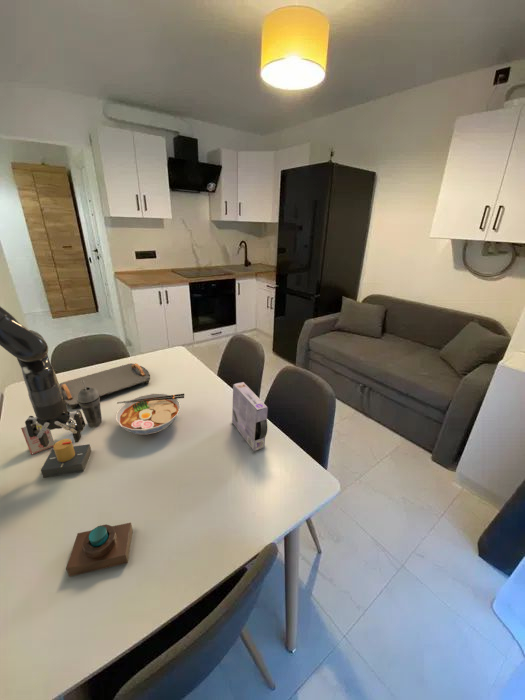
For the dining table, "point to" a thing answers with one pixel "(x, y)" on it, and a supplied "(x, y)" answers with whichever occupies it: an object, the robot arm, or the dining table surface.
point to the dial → (64, 450)
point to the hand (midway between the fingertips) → (62, 442)
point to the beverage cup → (90, 405)
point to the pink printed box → (37, 440)
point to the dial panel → (67, 462)
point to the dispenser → (100, 550)
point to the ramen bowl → (148, 413)
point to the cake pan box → (249, 416)
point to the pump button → (98, 536)
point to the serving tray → (105, 382)
